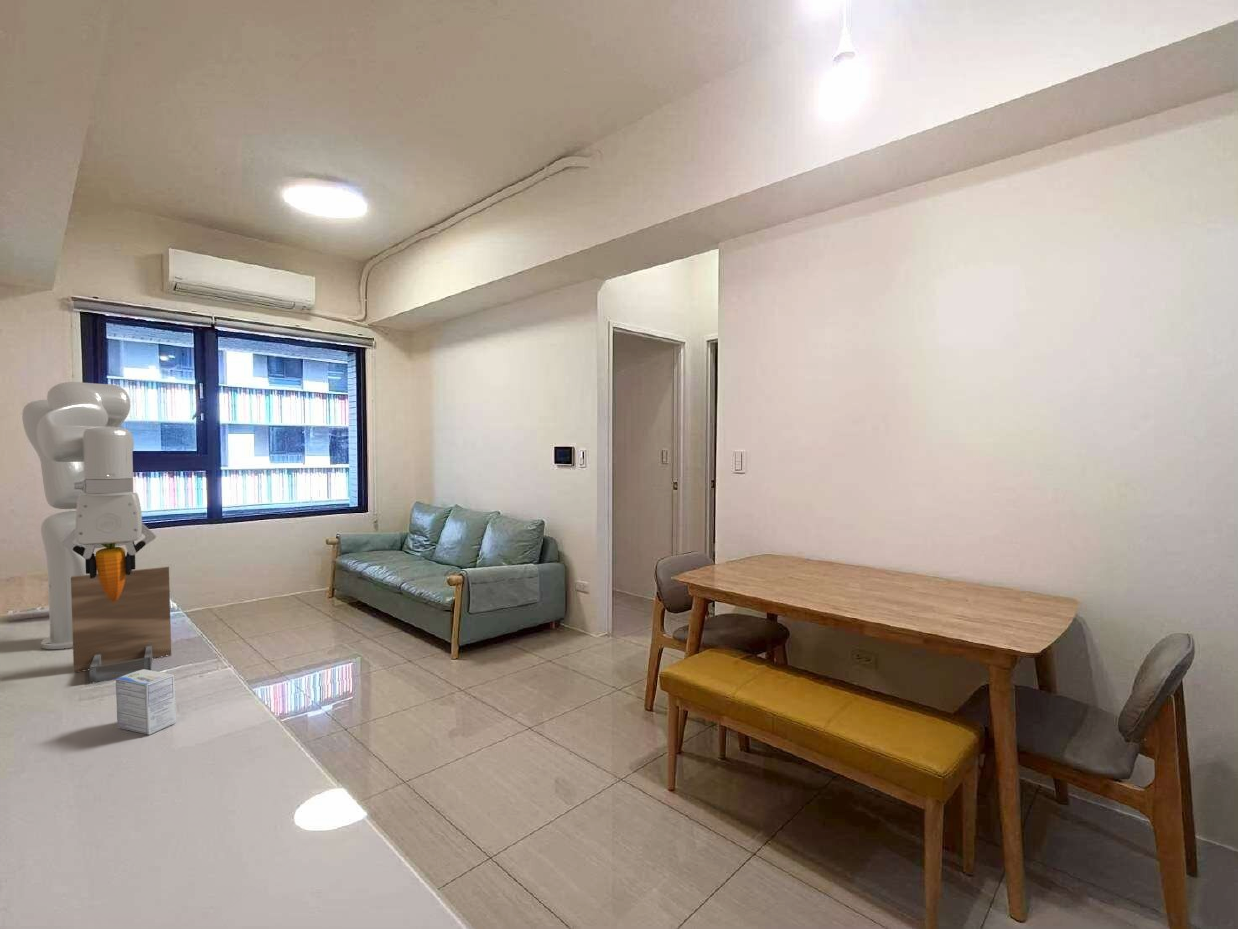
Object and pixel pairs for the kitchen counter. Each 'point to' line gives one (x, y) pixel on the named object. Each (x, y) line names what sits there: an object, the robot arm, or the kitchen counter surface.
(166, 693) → the medicine box
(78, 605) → the wall holder
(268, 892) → the kitchen counter surface
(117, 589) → the carrot
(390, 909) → the kitchen counter surface
